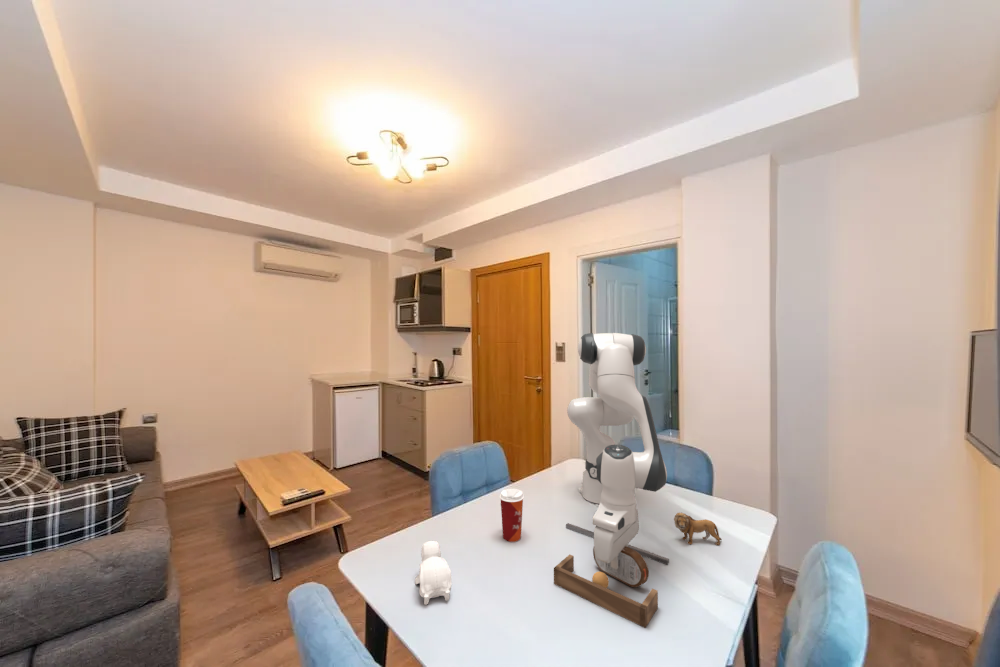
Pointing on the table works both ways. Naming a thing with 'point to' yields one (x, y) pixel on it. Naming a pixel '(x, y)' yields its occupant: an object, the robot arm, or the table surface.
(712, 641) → the table surface
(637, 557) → the tin
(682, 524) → the lion figurine
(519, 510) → the paper cup
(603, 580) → the ball
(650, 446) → the robot arm
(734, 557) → the table surface
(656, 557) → the rail
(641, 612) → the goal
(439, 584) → the white animal figurine
